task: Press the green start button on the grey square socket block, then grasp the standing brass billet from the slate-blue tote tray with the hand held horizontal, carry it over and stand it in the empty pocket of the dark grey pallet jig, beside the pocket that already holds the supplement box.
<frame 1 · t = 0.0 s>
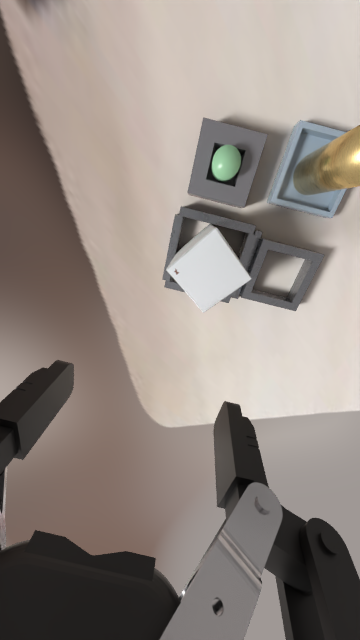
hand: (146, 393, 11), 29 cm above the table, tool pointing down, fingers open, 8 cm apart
pallet: (241, 264, 36), on the table
tote tray: (310, 175, 30), on the table
start button: (225, 164, 28), point 4 cm above the table, slide at 0.0 cm
supplement box: (206, 255, 37), resting in pallet
billet: (312, 174, 30), resting on tote tray
grey square socket block: (222, 170, 31), on the table
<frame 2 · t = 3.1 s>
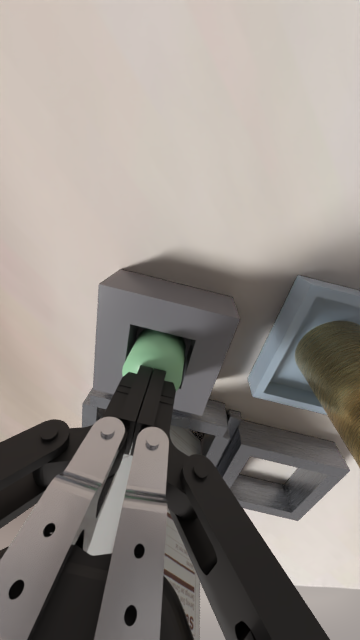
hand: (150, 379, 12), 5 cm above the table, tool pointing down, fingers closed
pallet: (209, 446, 22), on the table
tote tray: (328, 347, 16), on the table
start button: (156, 360, 14), point 4 cm above the table, slide at 0.2 cm, touching gripper
supplement box: (153, 430, 23), resting in pallet
billet: (331, 351, 16), resting on tote tray
grey square socket block: (165, 331, 17), on the table
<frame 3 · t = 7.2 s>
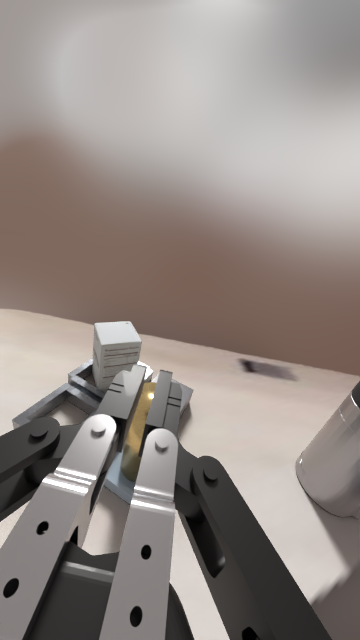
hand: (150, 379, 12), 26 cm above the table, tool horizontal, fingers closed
pallet: (91, 399, 41), on the table
tote tray: (137, 465, 33), on the table
supplement box: (112, 382, 46), resting in pallet
billet: (138, 463, 33), resting on tote tray
grey square socket block: (163, 405, 43), on the table
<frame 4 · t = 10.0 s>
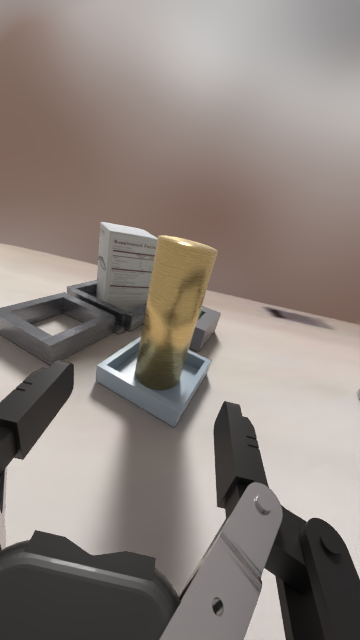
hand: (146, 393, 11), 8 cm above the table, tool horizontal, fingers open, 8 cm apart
pallet: (94, 316, 33), on the table
tote tray: (157, 376, 24), on the table
start button: (188, 314, 34), point 3 cm above the table, slide at 0.9 cm
supplement box: (120, 307, 38), resting in pallet
billet: (157, 373, 24), resting on tote tray
grey square socket block: (184, 330, 35), on the table
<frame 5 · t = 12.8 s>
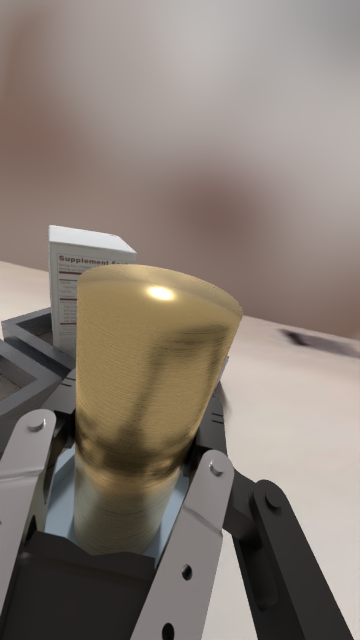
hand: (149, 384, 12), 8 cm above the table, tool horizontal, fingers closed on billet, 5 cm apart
pallet: (39, 368, 22), on the table
tote tray: (119, 511, 13), on the table
supplement box: (87, 344, 27), resting in pallet
billet: (120, 507, 13), point 1 cm above the table, touching gripper, tote tray
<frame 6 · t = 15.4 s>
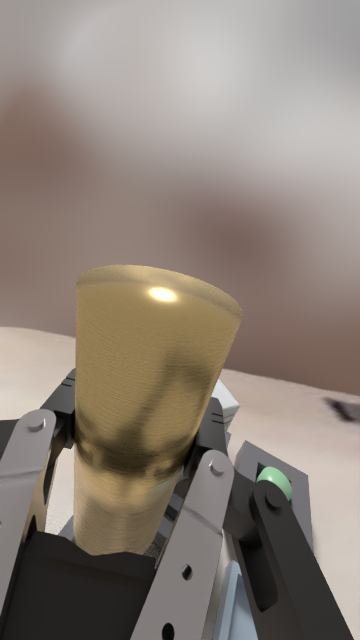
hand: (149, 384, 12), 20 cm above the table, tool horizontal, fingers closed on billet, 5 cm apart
pallet: (146, 499, 24), on the table
start button: (271, 489, 25), point 3 cm above the table, slide at 0.9 cm
supplement box: (170, 454, 29), resting in pallet
billet: (119, 508, 13), point 12 cm above the table, touching gripper
grey square socket block: (261, 502, 26), on the table
when the fingers open (9 cm above the table, at t = 17.9 s): billet drops 1 cm, resting in pallet.
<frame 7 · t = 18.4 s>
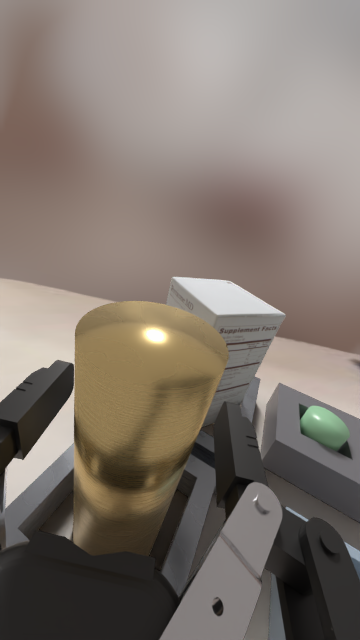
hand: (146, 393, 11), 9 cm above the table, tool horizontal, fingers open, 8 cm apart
pallet: (163, 442, 19), on the table
start button: (319, 432, 20), point 3 cm above the table, slide at 0.9 cm
supplement box: (189, 400, 24), resting in pallet
billet: (117, 522, 14), resting in pallet
grey square socket block: (304, 451, 21), on the table
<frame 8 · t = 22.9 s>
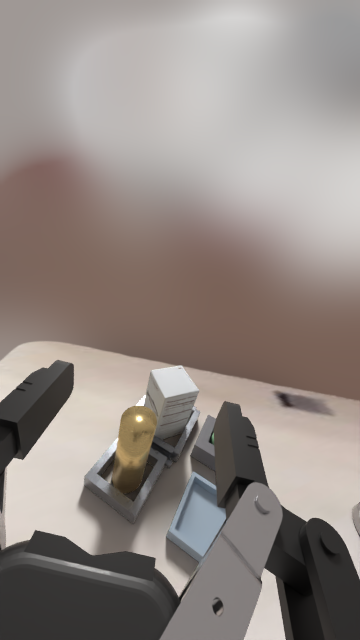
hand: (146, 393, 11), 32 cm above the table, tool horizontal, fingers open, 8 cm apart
pallet: (146, 445, 42), on the table
tote tray: (205, 522, 33), on the table
start button: (219, 441, 43), point 3 cm above the table, slide at 0.9 cm
supplement box: (162, 423, 47), resting in pallet
billet: (127, 475, 37), resting in pallet
grey square socket block: (215, 450, 44), on the table
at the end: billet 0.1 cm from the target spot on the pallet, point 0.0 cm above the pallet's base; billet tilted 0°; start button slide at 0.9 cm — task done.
